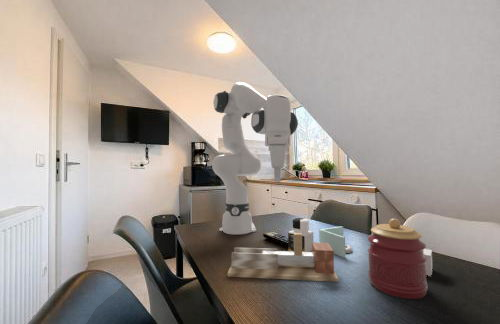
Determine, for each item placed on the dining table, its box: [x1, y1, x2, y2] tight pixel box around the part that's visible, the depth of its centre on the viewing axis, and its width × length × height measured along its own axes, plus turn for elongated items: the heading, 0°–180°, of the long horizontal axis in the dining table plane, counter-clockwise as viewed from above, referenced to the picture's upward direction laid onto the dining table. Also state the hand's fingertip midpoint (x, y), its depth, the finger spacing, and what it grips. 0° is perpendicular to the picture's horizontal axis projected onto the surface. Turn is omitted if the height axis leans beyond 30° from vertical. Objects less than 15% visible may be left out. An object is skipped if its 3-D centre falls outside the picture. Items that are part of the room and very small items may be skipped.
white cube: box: [423, 248, 433, 277], centre depth 69 cm, size 6×6×6 cm
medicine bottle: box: [287, 217, 315, 252], centre depth 87 cm, size 7×7×12 cm
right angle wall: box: [318, 225, 353, 258], centre depth 88 cm, size 12×12×8 cm
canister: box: [367, 218, 428, 300], centre depth 60 cm, size 13×13×18 cm
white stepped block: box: [262, 233, 315, 267], centre depth 70 cm, size 18×3×9 cm, turn 83°
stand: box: [227, 242, 339, 283], centre depth 70 cm, size 31×12×8 cm, turn 83°
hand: (277, 180), depth 79 cm, fingers open, 8 cm apart
